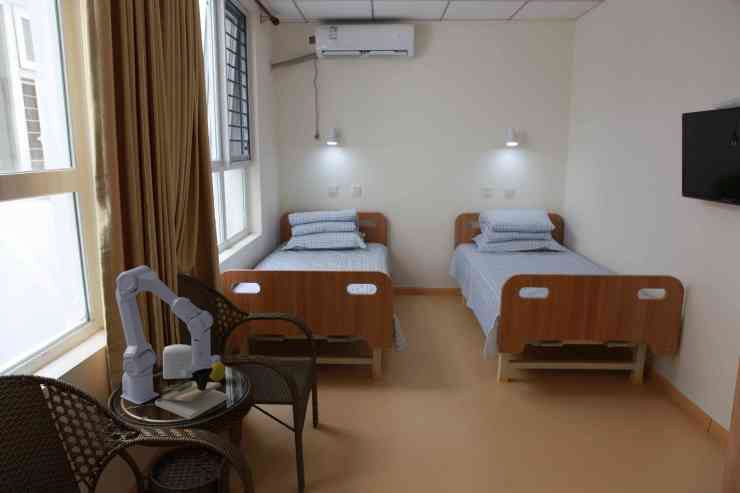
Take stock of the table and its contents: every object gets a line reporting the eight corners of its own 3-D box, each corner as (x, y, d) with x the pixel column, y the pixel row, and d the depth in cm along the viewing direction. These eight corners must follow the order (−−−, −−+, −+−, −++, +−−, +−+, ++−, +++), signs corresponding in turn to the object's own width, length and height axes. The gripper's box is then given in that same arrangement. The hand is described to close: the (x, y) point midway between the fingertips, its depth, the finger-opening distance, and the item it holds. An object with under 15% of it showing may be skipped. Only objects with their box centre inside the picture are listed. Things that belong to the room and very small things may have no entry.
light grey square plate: (155, 405, 163) (154, 398, 163) (193, 386, 177) (193, 380, 176) (190, 419, 156) (190, 412, 155) (227, 398, 169) (227, 392, 169)
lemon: (220, 386, 178) (220, 365, 176) (206, 384, 179) (205, 363, 177) (227, 379, 183) (227, 358, 182) (213, 377, 184) (213, 356, 183)
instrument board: (161, 398, 164) (160, 391, 164) (191, 384, 175) (190, 376, 174) (190, 401, 157) (189, 393, 157) (220, 385, 168) (219, 378, 167)
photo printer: (194, 373, 187) (193, 342, 184) (192, 378, 182) (192, 346, 180) (164, 375, 184) (163, 343, 182) (162, 380, 180) (161, 347, 178)
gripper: (192, 360, 152) (193, 402, 155) (226, 345, 165) (227, 384, 167) (175, 355, 156) (177, 395, 158) (211, 340, 168) (211, 378, 171)
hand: (201, 389), depth 163 cm, fingers closed, pressing on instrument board
